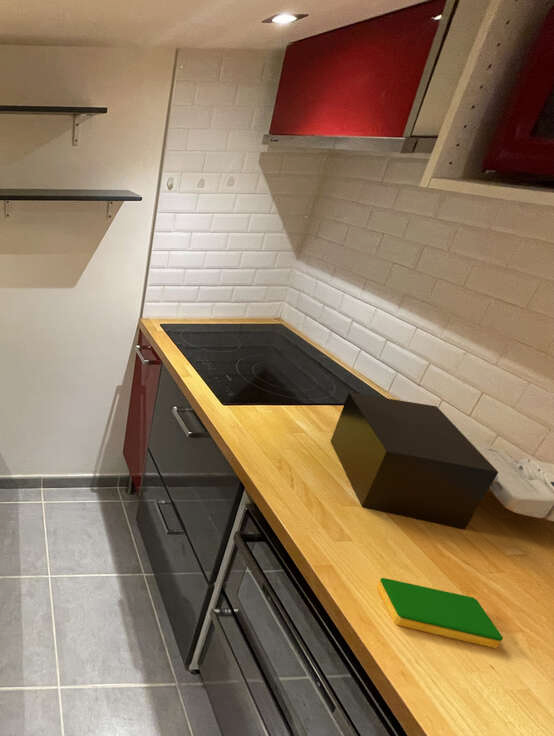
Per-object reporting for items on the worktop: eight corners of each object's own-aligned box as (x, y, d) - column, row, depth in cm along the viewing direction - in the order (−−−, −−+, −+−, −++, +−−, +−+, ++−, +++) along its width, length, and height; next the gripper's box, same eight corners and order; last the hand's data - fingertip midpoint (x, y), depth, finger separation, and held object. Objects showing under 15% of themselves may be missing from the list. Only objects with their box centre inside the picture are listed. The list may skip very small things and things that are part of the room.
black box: (421, 458, 111) (446, 407, 104) (476, 532, 90) (511, 474, 84) (330, 441, 116) (348, 392, 110) (361, 507, 95) (386, 451, 89)
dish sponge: (375, 586, 79) (380, 576, 78) (469, 607, 75) (475, 597, 74) (394, 624, 72) (400, 615, 71) (498, 649, 69) (505, 639, 68)
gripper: (510, 440, 101) (437, 427, 105) (580, 504, 83) (488, 486, 87) (498, 462, 104) (426, 449, 108) (563, 528, 86) (474, 510, 90)
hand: (454, 466), depth 97 cm, fingers closed
